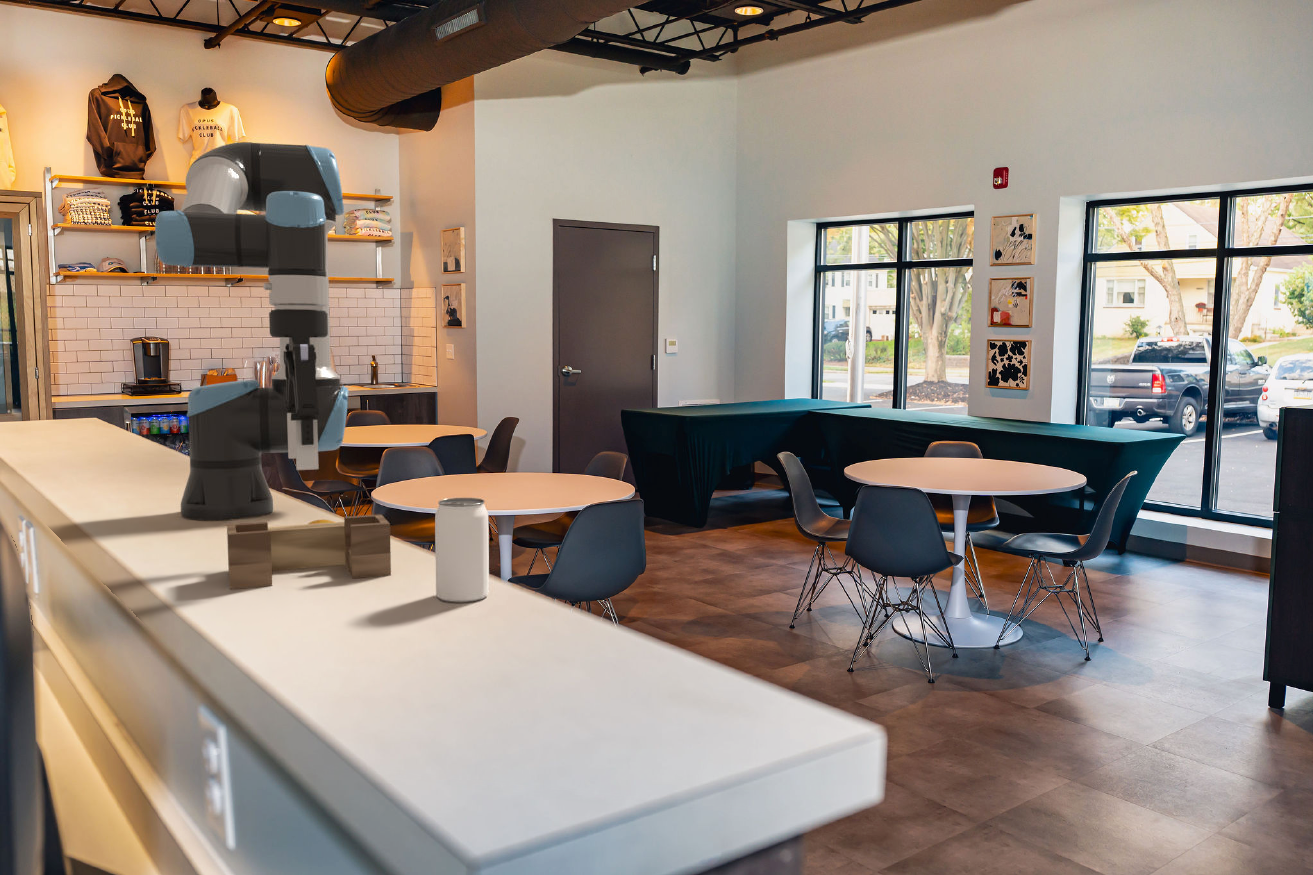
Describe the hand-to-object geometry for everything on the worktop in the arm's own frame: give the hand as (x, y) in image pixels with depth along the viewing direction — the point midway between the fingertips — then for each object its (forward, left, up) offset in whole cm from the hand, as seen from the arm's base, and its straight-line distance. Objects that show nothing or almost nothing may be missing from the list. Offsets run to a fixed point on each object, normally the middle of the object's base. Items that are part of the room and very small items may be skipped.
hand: (302, 463), depth 141 cm
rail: (0, 0, -14) cm, 14 cm away
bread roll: (-13, +4, -15) cm, 20 cm away
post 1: (+6, -7, -14) cm, 17 cm away
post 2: (+6, +8, -14) cm, 17 cm away
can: (+24, +16, -15) cm, 33 cm away
